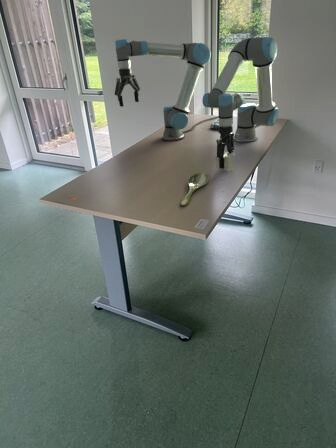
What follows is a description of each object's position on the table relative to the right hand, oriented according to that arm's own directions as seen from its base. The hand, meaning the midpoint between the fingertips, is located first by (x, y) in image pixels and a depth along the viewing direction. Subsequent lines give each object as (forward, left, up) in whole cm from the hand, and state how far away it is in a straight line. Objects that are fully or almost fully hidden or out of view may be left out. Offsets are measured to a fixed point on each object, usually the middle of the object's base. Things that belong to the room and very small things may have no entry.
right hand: (225, 165), depth 189 cm
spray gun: (-66, -59, -2) cm, 89 cm away
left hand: (+11, -71, +29) cm, 78 cm away
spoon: (+30, +5, -2) cm, 31 cm away
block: (0, 0, -1) cm, 1 cm away
